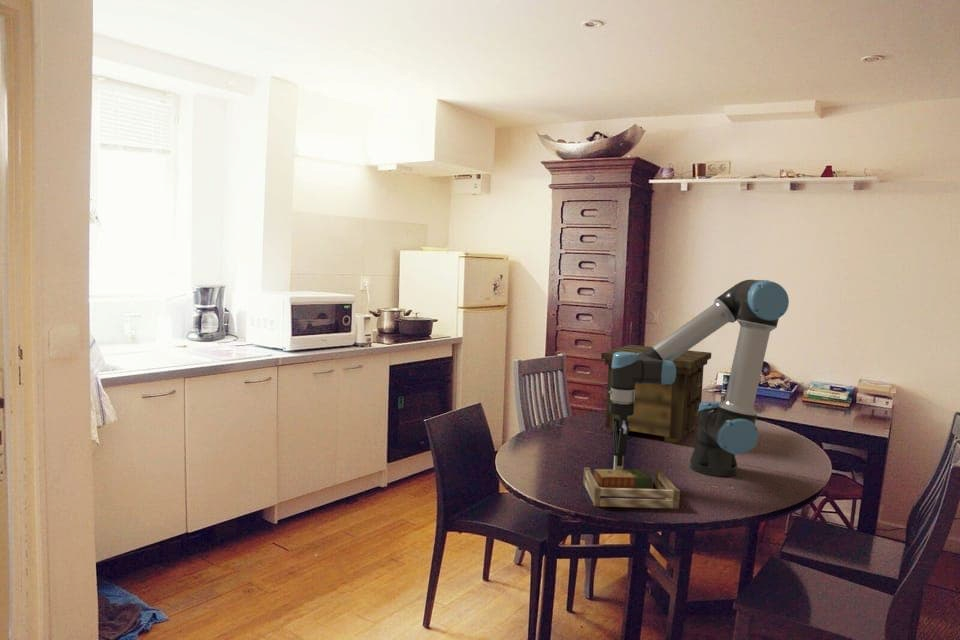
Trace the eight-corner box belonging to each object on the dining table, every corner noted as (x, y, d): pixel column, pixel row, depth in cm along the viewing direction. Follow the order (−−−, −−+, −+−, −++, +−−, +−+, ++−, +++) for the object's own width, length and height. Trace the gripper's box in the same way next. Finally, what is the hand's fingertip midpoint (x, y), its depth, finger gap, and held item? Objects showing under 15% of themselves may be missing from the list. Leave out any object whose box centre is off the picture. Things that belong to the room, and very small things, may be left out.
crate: (626, 416, 286) (629, 344, 283) (706, 429, 268) (711, 352, 265) (597, 433, 257) (601, 352, 254) (685, 448, 238) (691, 362, 235)
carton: (593, 481, 200) (594, 468, 199) (642, 481, 201) (643, 468, 201) (601, 490, 191) (601, 477, 191) (652, 490, 193) (653, 476, 193)
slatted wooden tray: (660, 486, 196) (661, 469, 196) (678, 508, 178) (680, 490, 178) (583, 483, 196) (584, 467, 196) (594, 506, 178) (595, 488, 177)
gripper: (606, 396, 205) (602, 467, 208) (614, 405, 193) (610, 481, 195) (629, 397, 205) (625, 468, 208) (639, 406, 193) (634, 482, 195)
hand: (617, 474), depth 201 cm, fingers closed
